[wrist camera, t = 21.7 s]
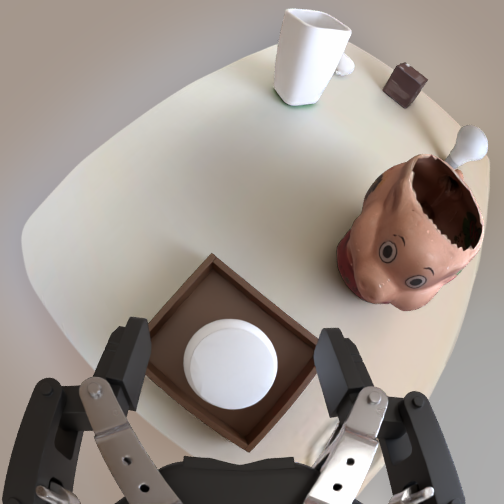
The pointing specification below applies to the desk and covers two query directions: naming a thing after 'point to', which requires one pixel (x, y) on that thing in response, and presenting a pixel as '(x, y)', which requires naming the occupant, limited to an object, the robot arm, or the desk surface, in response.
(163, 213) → the desk surface
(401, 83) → the box
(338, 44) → the cup
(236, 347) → the pill bottle
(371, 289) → the pink face mug
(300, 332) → the tray
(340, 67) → the white lumpy curved piece
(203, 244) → the desk surface
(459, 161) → the lightbulb
